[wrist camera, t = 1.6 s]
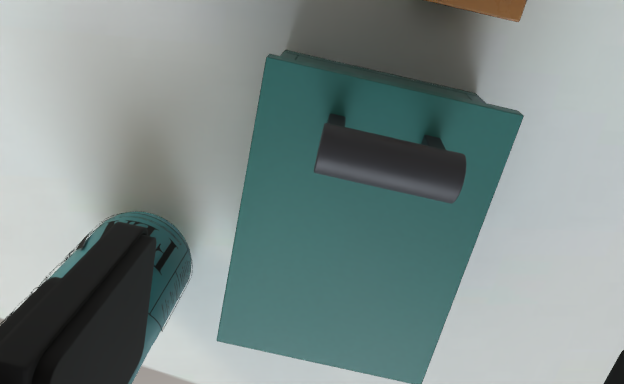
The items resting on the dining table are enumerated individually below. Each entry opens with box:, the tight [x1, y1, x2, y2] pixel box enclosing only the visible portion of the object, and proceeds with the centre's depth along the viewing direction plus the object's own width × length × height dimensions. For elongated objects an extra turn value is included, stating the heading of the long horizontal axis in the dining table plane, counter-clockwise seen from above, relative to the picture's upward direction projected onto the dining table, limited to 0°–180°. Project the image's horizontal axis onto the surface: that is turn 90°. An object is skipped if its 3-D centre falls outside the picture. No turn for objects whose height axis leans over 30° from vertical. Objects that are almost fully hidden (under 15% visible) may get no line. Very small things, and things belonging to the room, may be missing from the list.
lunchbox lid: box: [217, 54, 524, 384], centre depth 22 cm, size 14×11×5 cm
